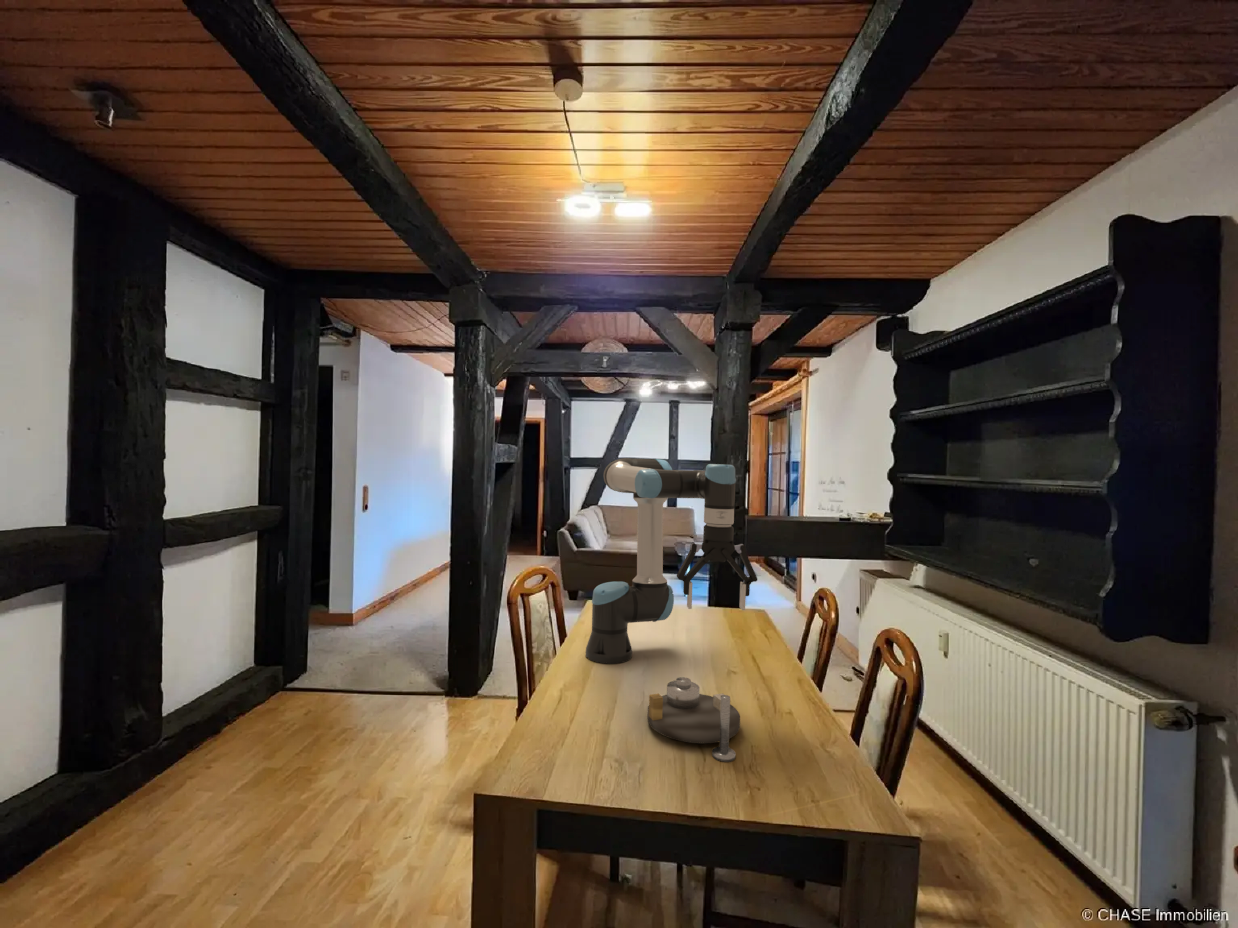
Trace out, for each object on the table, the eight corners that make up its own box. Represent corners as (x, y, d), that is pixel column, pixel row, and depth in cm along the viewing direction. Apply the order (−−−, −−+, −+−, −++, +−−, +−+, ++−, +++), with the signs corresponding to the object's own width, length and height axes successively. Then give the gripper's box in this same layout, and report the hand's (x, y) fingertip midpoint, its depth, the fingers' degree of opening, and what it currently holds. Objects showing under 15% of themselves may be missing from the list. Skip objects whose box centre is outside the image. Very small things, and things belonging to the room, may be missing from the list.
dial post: (706, 750, 122) (708, 692, 122) (726, 747, 124) (728, 689, 124) (719, 763, 117) (721, 702, 117) (739, 759, 119) (741, 699, 119)
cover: (661, 697, 141) (662, 675, 141) (689, 693, 144) (690, 672, 144) (675, 711, 133) (676, 688, 133) (704, 707, 136) (705, 684, 136)
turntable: (632, 706, 140) (633, 678, 140) (710, 696, 148) (710, 669, 147) (671, 749, 119) (672, 717, 119) (758, 734, 127) (759, 704, 127)
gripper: (671, 525, 137) (668, 611, 137) (771, 528, 138) (768, 613, 138) (667, 521, 144) (665, 603, 144) (762, 524, 145) (759, 605, 145)
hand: (715, 608), depth 141 cm, fingers open, 13 cm apart
